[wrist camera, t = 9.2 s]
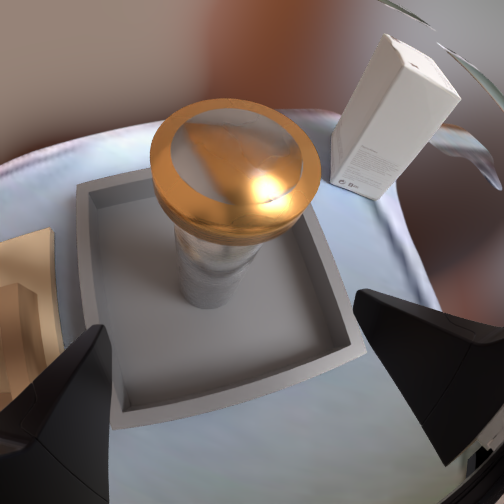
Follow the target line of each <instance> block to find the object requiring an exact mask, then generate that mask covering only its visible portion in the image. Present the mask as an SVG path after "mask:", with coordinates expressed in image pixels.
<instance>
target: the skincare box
mask: <svg viewBox="0 0 504 504" xmlns="http://www.w3.org/2000/svg"><path fill="white" fill-rule="evenodd" d="M460 100H461V98H460V96H459V95H458V93H457V92H456V90H455V89H454V88H453V87H452V85H451V84H450V82H449V81H448V80H447V78H446V77H445V76H444V74H443V73H442V72H441V70H440V69H439V68H438V66H437V65H436V64H435V62H434V61H433V60H432V59H431V58H429V57H428V56H426V55H425V54H423V53H421V52H419V51H418V50H416V49H414V48H412V47H411V46H409V45H407V44H405V43H403V42H401V41H399V40H397V39H395V38H393V37H391V36H389V35H387V34H383V36H382V38H381V40H380V42H379V44H378V46H377V48H376V50H375V52H374V54H373V56H372V58H371V60H370V62H369V64H368V66H367V68H366V70H365V72H364V74H363V75H362V77H361V80H360V81H359V83H358V85H357V87H356V90H355V91H354V93H353V95H352V97H351V99H350V101H349V102H348V105H347V107H346V108H345V110H344V112H343V114H342V116H341V118H340V120H339V122H338V123H337V125H336V127H335V129H334V131H333V133H332V134H331V177H330V183H331V184H334V185H336V186H339V187H342V188H345V189H348V190H350V191H353V192H355V193H357V194H359V195H362V196H364V197H367V198H369V199H372V200H374V201H376V200H379V199H380V197H381V196H382V195H383V194H384V193H385V192H386V191H387V190H388V188H389V187H390V186H391V185H392V184H393V183H394V182H395V180H396V179H397V178H398V177H399V176H400V174H401V173H402V172H403V171H404V170H405V169H406V168H407V166H408V165H409V164H410V163H411V161H412V160H413V159H414V158H415V157H416V156H417V154H418V153H419V152H420V151H421V149H422V148H423V147H424V146H425V145H426V143H427V142H428V141H429V140H430V138H431V137H432V136H433V135H434V133H435V132H436V131H437V130H438V128H439V127H440V126H441V125H442V123H443V122H444V121H445V119H446V118H447V117H448V116H449V114H450V113H451V112H452V110H453V109H454V108H455V106H456V105H457V104H458V102H459V101H460Z"/></svg>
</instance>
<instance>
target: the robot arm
mask: <svg viewBox="0 0 504 504" xmlns="http://www.w3.org/2000/svg"><path fill="white" fill-rule="evenodd" d="M353 314H354V316H355V318H356V320H357V322H358V323H359V325H360V327H361V329H362V331H363V333H364V335H365V337H366V339H367V340H368V342H369V344H370V346H371V347H372V349H373V350H374V352H375V353H376V355H377V356H378V358H379V359H380V361H381V362H382V364H383V365H384V367H385V369H386V370H387V372H388V373H389V375H390V376H391V378H392V379H393V381H394V382H395V384H396V386H397V387H398V389H399V390H400V392H401V394H402V395H403V397H404V398H405V400H406V402H407V403H408V405H409V406H410V408H411V410H412V411H413V413H414V415H415V416H416V418H417V419H418V421H419V423H420V424H421V425H422V428H423V430H424V431H425V433H426V435H427V437H428V438H429V440H430V442H431V443H432V445H433V447H434V449H435V450H436V452H437V454H438V456H439V457H440V459H441V461H442V463H443V464H444V466H445V467H446V466H448V465H449V464H450V463H451V462H453V461H454V460H455V459H456V458H457V457H458V456H460V455H461V454H462V453H463V452H464V451H465V450H467V449H468V448H469V447H470V446H471V445H472V444H473V443H474V442H475V441H476V440H478V441H479V442H480V443H481V445H482V447H481V448H480V449H479V450H478V451H476V452H475V453H474V454H473V455H472V456H471V457H470V458H469V459H468V464H467V474H466V480H465V481H463V482H462V483H461V484H460V485H459V486H458V487H457V488H455V489H454V490H453V491H452V492H451V493H449V494H448V495H447V496H446V497H445V498H443V499H442V500H441V501H439V502H438V503H437V504H504V327H496V326H491V325H487V324H483V323H479V322H475V321H471V320H467V319H464V318H460V317H457V316H453V315H450V314H446V313H443V312H440V311H437V310H434V309H431V308H428V307H425V306H421V305H418V304H415V303H412V302H409V301H406V300H402V299H399V298H396V297H393V296H390V295H386V294H383V293H380V292H377V291H374V290H371V289H361V290H358V291H357V292H356V295H355V300H354V305H353ZM111 397H112V345H111V341H110V339H109V336H108V333H107V330H106V327H105V325H103V324H94V325H92V326H91V327H89V328H88V329H87V330H86V331H85V332H84V333H83V334H82V335H81V336H80V337H78V338H77V339H76V340H75V341H74V342H73V343H72V344H71V345H70V346H69V347H68V348H67V349H66V350H64V351H63V352H62V353H61V354H60V355H59V356H58V357H57V358H56V359H55V360H54V361H53V362H52V363H51V364H50V365H49V366H48V367H47V368H46V369H45V370H44V371H42V372H41V373H40V374H39V375H38V376H37V377H36V378H35V379H34V380H33V383H30V384H29V385H28V386H27V387H26V388H25V389H24V390H23V391H22V392H21V393H20V394H19V395H18V396H17V397H16V398H15V399H14V400H13V401H12V402H10V403H9V404H8V405H7V406H6V407H5V408H4V409H2V410H1V411H0V504H109V481H108V449H109V424H110V409H111Z"/></svg>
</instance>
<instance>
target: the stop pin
mask: <svg viewBox="0 0 504 504" xmlns="http://www.w3.org/2000/svg"><path fill="white" fill-rule="evenodd" d="M150 164H151V173H152V181H153V187H154V192H155V195H156V198H157V200H158V203H159V204H160V206H161V208H162V209H163V211H164V212H165V213H166V215H167V216H168V217H169V218H170V219H171V220H172V221H173V222H174V234H175V246H176V258H177V268H178V278H179V286H180V290H181V292H182V294H183V296H184V297H185V299H186V300H187V301H188V302H189V303H191V304H192V305H194V306H196V307H198V308H202V309H215V308H218V307H221V306H223V305H224V304H226V303H227V302H228V301H229V300H230V299H231V297H232V296H233V294H234V292H235V290H236V289H237V287H238V285H239V284H240V282H241V280H242V278H243V277H244V275H245V273H246V272H247V270H248V268H249V267H250V265H251V263H252V261H253V260H254V258H255V256H256V255H257V253H258V251H259V249H260V248H261V246H262V244H263V243H264V242H267V241H270V240H272V239H275V238H277V237H278V236H280V235H282V234H283V233H285V232H286V231H287V230H289V229H290V228H291V227H292V226H293V225H294V224H295V223H296V222H297V220H298V219H299V218H300V216H301V215H302V213H303V212H304V211H305V209H306V208H307V206H308V205H309V204H310V202H311V201H312V199H313V198H314V196H315V194H316V193H317V190H318V188H319V185H320V180H321V164H320V159H319V156H318V153H317V151H316V149H315V147H314V145H313V143H312V142H311V140H310V138H309V137H308V136H307V135H306V133H305V132H304V131H303V130H302V129H301V128H300V127H299V126H298V125H297V124H295V123H294V122H293V121H292V120H291V119H289V118H288V117H286V116H285V115H283V114H281V113H279V112H278V111H276V110H274V109H271V108H269V107H267V106H264V105H261V104H258V103H255V102H251V101H246V100H239V99H230V98H227V99H226V98H224V99H223V98H222V99H210V100H204V101H200V102H197V103H193V104H191V105H188V106H186V107H183V108H182V109H180V110H178V111H177V112H175V113H173V114H172V115H171V116H169V117H168V118H167V119H166V120H165V121H164V122H163V123H162V124H161V126H160V127H159V128H158V130H157V132H156V133H155V135H154V137H153V140H152V143H151V148H150Z"/></svg>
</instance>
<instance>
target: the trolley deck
mask: <svg viewBox="0 0 504 504" xmlns="http://www.w3.org/2000/svg"><path fill="white" fill-rule="evenodd" d="M63 351H64V344H63V339H62V332H61V326H60V319H59V311H58V302H57V291H56V278H55V255H54V232H53V230H52V229H51V228H50V227H49V228H46V229H42V230H39V231H35V232H32V233H29V234H25V235H22V236H19V237H16V238H13V239H9V240H6V241H3V242H0V411H1V410H2V409H4V408H5V407H6V406H7V405H8V404H9V403H10V402H12V401H13V400H14V399H15V398H16V397H17V396H18V395H19V394H20V393H21V392H22V391H23V390H24V389H25V388H26V387H27V386H28V385H29V384H30V383H33V380H34V379H35V378H36V377H37V376H38V375H39V374H40V373H41V372H42V371H44V370H45V369H46V368H47V367H48V366H49V365H50V364H51V363H52V362H53V361H54V360H55V359H56V358H57V357H58V356H59V355H60V354H61V353H62V352H63Z"/></svg>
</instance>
